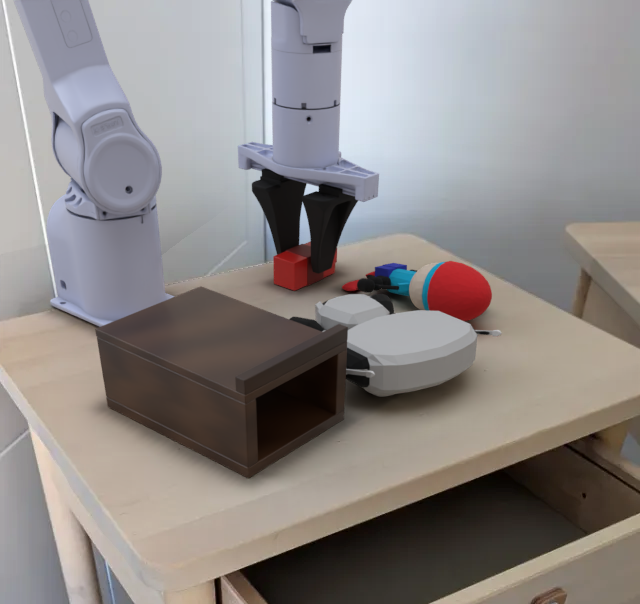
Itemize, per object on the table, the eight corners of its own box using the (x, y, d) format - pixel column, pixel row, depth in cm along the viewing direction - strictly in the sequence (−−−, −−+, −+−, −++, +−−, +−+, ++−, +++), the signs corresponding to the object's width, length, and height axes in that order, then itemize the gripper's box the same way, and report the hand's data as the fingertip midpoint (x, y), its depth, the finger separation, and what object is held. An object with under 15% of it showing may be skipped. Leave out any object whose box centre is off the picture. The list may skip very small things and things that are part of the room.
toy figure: (335, 308, 79) (456, 337, 69) (334, 252, 77) (459, 274, 67) (394, 295, 83) (516, 320, 73) (394, 242, 81) (521, 260, 71)
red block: (272, 284, 80) (272, 255, 78) (320, 263, 84) (321, 235, 82) (294, 291, 78) (294, 262, 77) (342, 270, 82) (343, 242, 81)
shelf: (107, 406, 62) (92, 314, 57) (206, 359, 68) (199, 272, 63) (248, 478, 55) (244, 380, 50) (344, 419, 61) (348, 326, 56)
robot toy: (262, 360, 69) (376, 428, 59) (258, 305, 67) (377, 367, 57) (380, 326, 75) (502, 382, 65) (381, 274, 72) (509, 324, 62)
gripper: (404, 108, 70) (392, 271, 79) (273, 82, 77) (275, 234, 86) (352, 123, 66) (345, 294, 75) (218, 94, 73) (226, 253, 81)
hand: (304, 264), depth 80 cm, fingers open, 4 cm apart
